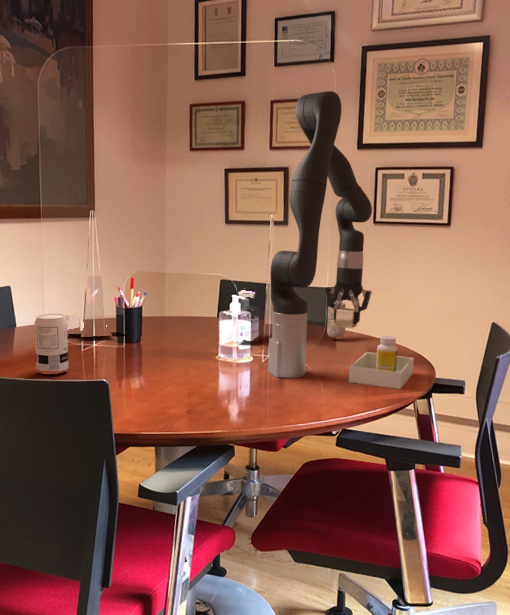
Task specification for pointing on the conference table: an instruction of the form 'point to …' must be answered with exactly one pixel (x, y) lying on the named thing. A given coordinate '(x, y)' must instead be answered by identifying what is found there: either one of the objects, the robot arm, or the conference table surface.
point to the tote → (380, 372)
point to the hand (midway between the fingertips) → (346, 322)
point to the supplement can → (51, 342)
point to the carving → (334, 324)
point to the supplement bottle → (387, 354)
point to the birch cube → (345, 318)
